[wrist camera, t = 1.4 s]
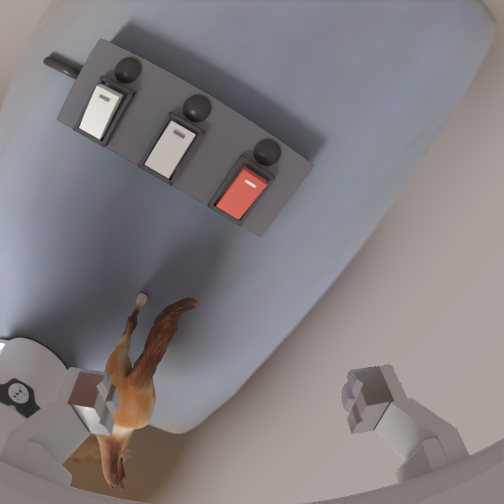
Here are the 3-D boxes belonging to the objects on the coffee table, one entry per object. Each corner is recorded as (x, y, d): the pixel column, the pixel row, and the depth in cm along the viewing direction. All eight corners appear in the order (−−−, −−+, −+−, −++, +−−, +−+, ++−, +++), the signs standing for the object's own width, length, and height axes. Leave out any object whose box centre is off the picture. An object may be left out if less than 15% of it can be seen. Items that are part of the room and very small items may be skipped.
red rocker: (239, 212, 34) (238, 220, 33) (217, 199, 33) (216, 206, 32) (266, 178, 32) (267, 185, 31) (244, 164, 31) (243, 170, 30)
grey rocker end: (105, 135, 29) (99, 139, 28) (85, 123, 28) (78, 128, 27) (125, 94, 26) (118, 97, 25) (103, 83, 25) (96, 85, 24)
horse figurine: (136, 398, 52) (121, 494, 34) (98, 383, 50) (74, 478, 32) (203, 276, 41) (196, 410, 23) (149, 252, 39) (103, 378, 20)
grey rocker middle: (169, 177, 31) (168, 178, 29) (146, 164, 30) (144, 164, 28) (195, 135, 30) (195, 134, 29) (172, 122, 29) (171, 120, 28)
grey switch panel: (258, 227, 38) (261, 240, 35) (29, 96, 27) (12, 98, 24) (307, 160, 35) (316, 167, 32) (67, 23, 24) (52, 18, 20)
